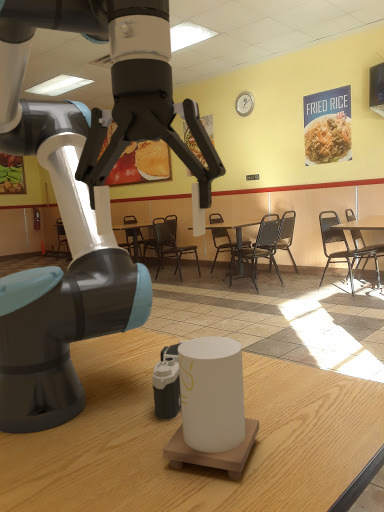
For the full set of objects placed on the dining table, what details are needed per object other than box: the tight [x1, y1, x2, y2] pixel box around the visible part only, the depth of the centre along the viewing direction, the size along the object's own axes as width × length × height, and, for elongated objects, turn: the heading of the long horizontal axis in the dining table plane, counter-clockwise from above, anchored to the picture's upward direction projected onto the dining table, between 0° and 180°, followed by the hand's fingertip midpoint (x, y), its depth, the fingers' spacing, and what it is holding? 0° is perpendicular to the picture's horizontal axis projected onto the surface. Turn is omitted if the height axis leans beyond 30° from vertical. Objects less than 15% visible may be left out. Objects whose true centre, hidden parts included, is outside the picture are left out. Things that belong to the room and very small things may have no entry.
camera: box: [151, 339, 186, 421], centre depth 74 cm, size 16×9×10 cm, turn 166°
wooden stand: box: [162, 417, 260, 481], centre depth 58 cm, size 10×10×3 cm
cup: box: [178, 335, 246, 453], centre depth 56 cm, size 8×8×12 cm
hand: (150, 234), depth 58 cm, fingers open, 13 cm apart
